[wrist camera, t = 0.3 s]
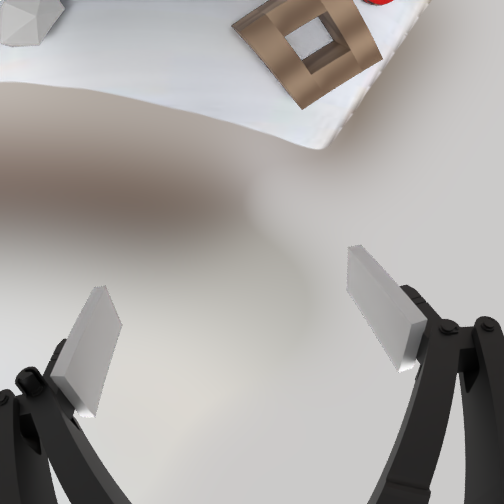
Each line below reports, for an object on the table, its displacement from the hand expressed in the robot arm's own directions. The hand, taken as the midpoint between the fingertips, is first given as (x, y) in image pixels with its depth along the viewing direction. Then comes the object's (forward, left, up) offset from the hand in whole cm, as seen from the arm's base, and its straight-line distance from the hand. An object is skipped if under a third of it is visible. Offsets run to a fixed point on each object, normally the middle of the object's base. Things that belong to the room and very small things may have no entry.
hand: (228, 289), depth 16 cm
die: (-23, -5, -32) cm, 40 cm away
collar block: (+5, +16, -32) cm, 36 cm away
